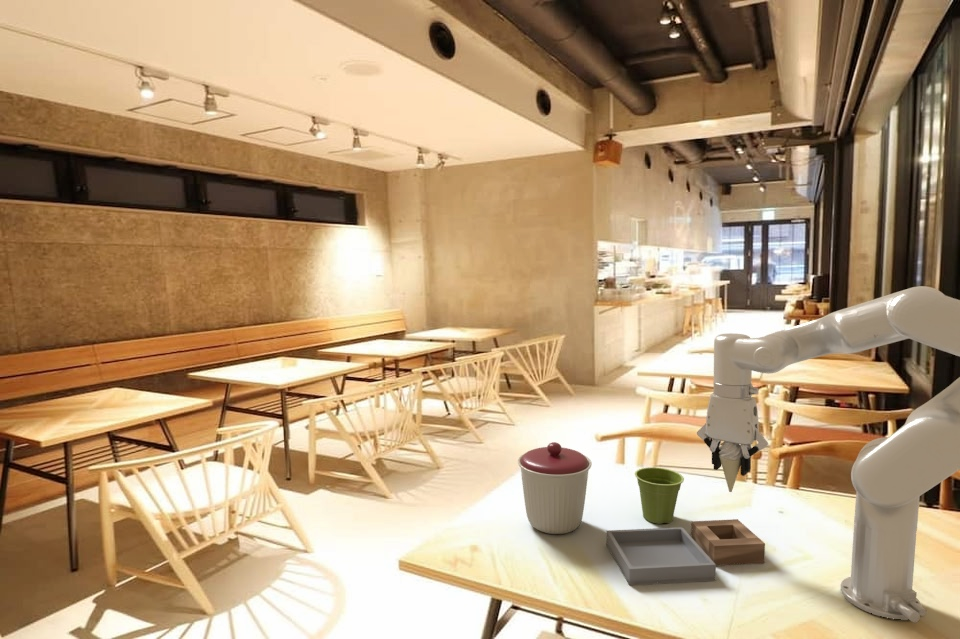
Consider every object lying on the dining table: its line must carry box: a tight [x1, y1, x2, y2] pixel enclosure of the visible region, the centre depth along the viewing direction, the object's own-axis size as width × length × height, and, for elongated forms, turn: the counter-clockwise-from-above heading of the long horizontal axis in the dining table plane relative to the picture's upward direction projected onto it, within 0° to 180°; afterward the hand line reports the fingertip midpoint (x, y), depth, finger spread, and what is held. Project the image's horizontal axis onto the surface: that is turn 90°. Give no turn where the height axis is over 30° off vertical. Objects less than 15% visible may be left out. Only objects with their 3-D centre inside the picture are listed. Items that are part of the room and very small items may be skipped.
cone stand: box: [690, 518, 766, 567], centre depth 125 cm, size 11×11×4 cm
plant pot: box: [634, 466, 685, 525], centre depth 140 cm, size 12×12×11 cm
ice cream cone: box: [719, 441, 743, 493], centre depth 122 cm, size 5×5×15 cm
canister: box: [517, 442, 592, 535], centre depth 137 cm, size 18×18×21 cm
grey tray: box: [605, 526, 717, 586], centre depth 121 cm, size 16×18×4 cm
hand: (730, 470), depth 122 cm, fingers closed on ice cream cone, 5 cm apart
